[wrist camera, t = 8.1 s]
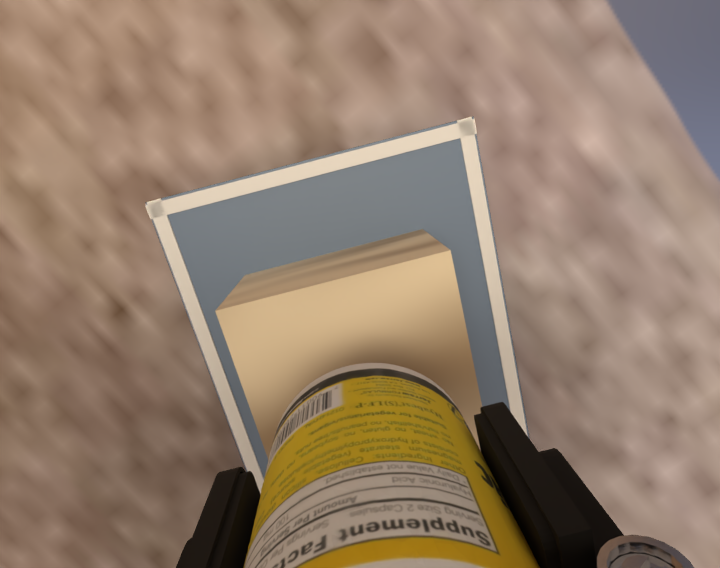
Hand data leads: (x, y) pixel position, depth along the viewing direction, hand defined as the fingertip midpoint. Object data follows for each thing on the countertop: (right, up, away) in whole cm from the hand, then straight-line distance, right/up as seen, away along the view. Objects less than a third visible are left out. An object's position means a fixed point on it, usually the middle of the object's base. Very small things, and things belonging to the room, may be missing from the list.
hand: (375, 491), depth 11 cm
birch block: (-1, +3, +10) cm, 10 cm away
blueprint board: (0, +2, +11) cm, 11 cm away
